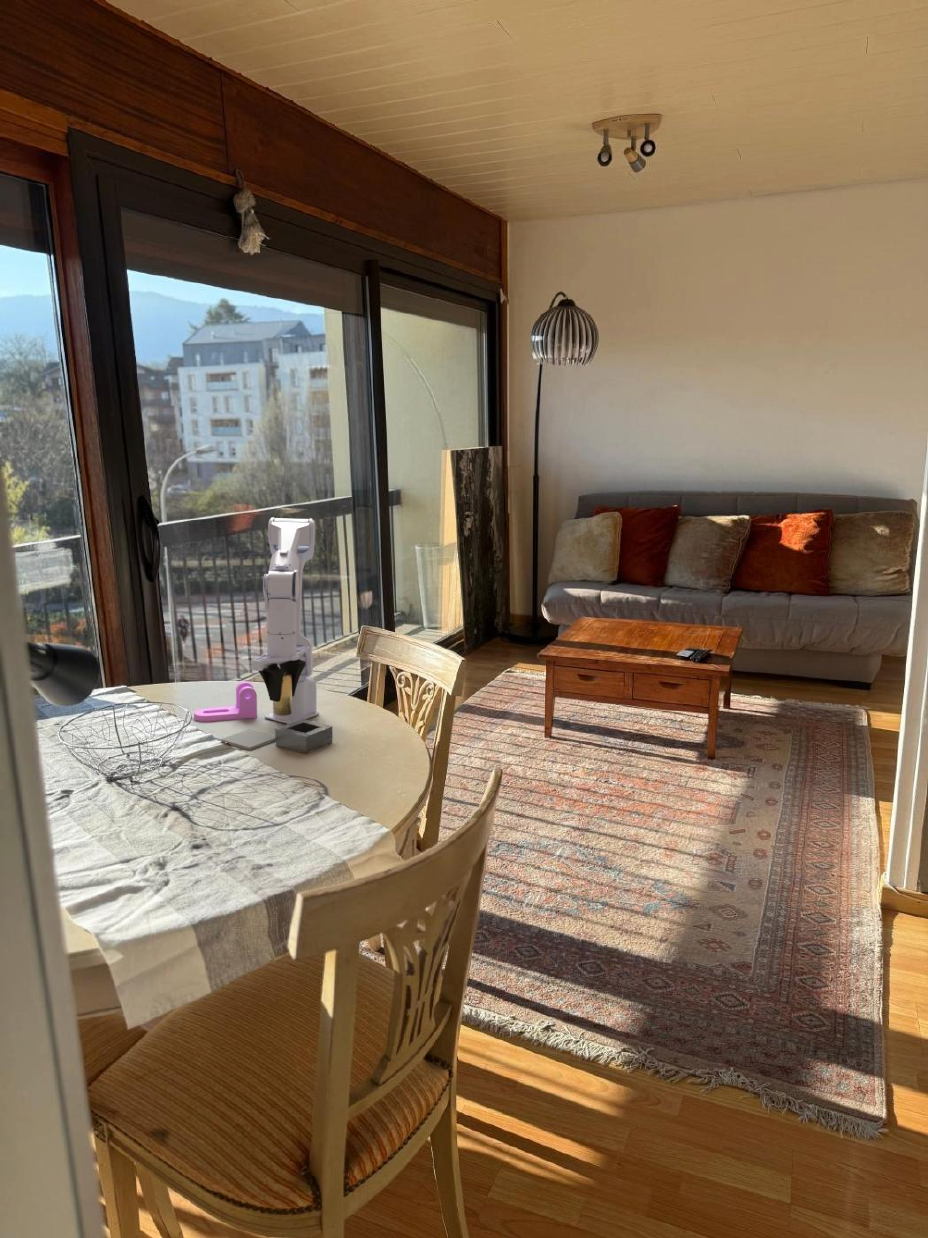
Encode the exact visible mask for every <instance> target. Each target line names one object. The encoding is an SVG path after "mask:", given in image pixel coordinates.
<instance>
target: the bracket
mask: <svg viewBox="0 0 928 1238" xmlns="http://www.w3.org/2000/svg"><path fill="white" fill-rule="evenodd" d="M235 702H236V704H235V705H230V706H218V707H206V708H205V707H204V708H200V709H196V710H195V711H193V719H194V720H195V719H196V720H195V721H197V720H198V722H204V721H205V722H216V721H227V720H228V721H230V720H243V719H254V718H255V719H257V718H258V696H257V692H256V690H255V688H254V686H253V684H252V683H251V682H249V681H247V680H245V681H241V682H239V683H238V684H237V685H236V687H235Z"/></svg>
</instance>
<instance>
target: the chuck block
mask: <svg viewBox="0 0 928 1238" xmlns="http://www.w3.org/2000/svg"><path fill="white" fill-rule="evenodd" d="M274 731H275V732H274V734H275V735H274V736H275V741H274V742H275V743H274V746H275V747H280V748H284V749H287V750H290V751H295V752H297V753H300V754H304V755H307V754H310V753H312V752H315V751H316V750H318V749H322V748H324V747H326V746H328V745H331V744H333V726H332V725H329V724H328V725H327V724H324V723H320V722H317V721H313V720H308V719H301V720H298V721H295V722H293V723H290V724H287V723H286V724H285V725H282V726H279V727H276V728H275V730H274Z"/></svg>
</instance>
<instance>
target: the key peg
mask: <svg viewBox="0 0 928 1238" xmlns="http://www.w3.org/2000/svg"><path fill="white" fill-rule="evenodd" d="M274 714H275V715H279V716H286V715H290V714H292V674H291V673H289V672H285V673H284V676H283V679H282V685H281V698H280V701H278V702H276V701H274Z"/></svg>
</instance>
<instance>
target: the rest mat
mask: <svg viewBox="0 0 928 1238" xmlns="http://www.w3.org/2000/svg"><path fill="white" fill-rule="evenodd" d="M221 741H222V742H221ZM220 742H221V743H223V742H227V743H229V744H230V746H233V747H237V748H240V749H243V750H246V751H252V750H254V749H257V748H260V747H262V746H263V747H264V746H265V745H268V744H270V743H272V742H275V735H273V734H271V733H267V732H262V731H259V730H256V729H251V728H248V729H247V730H243V731H240V732H237V733H235V734H232V735H229V736H226V737H223V738H221V739H220ZM229 744H228V745H229Z"/></svg>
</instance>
